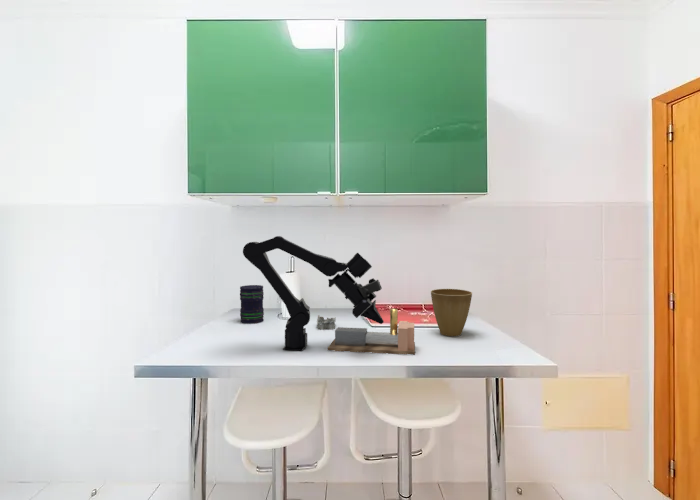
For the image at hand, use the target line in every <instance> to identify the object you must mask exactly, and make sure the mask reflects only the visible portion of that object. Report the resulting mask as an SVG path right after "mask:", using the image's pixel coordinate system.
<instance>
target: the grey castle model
mask: <svg viewBox="0 0 700 500" xmlns="http://www.w3.org/2000/svg"><path fill="white" fill-rule="evenodd" d="M324 318H325V317H324V316H320V314H318V315H317V318H316V323H317V325H316V326H317V330H322V331H324V330H332V331H333V330H336V329H335V328H336V324H335V323H336V320H337V319H336V317H335V316H334V317H330V318H329V317H326V319H324Z"/></svg>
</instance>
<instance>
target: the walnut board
mask: <svg viewBox="0 0 700 500" xmlns="http://www.w3.org/2000/svg"><path fill="white" fill-rule="evenodd" d="M415 348H416V342H415V341H414V350H408V351H398V344H376V343H367V344H366V346H365V347H364V346H342V345H335V338H334V339H333V340H332V341H331V343H330V344H329V345H328V346H327V351H328V350H335V351H334V352H344V351H350V352H349V353H365V352H372V353H371V354H386V353H388V354H390V355H392V354H393V355H407V354H413V355H412V356H415V354H416V352H415V351H416V349H415Z"/></svg>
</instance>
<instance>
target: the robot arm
mask: <svg viewBox="0 0 700 500" xmlns="http://www.w3.org/2000/svg"><path fill="white" fill-rule="evenodd" d="M276 249H277V250H278V249H279V250H280V251H283V252H285V253H287V254H289V255H291V256H293V257H295V258H297V259H298V260H299V259H300V260H301V261H303V262H306V263H307V264H309V265H311V266H312V267H313V268H315V269H316V270H318V271H319V272H321V274H323V275H325V276H326V277H332V278H328V279H327V280H328V288H332V287H333V286H335V287H337V288H338V290H339V291H340V292H341V293H342V294H343V295H344V298H345V299H346V300H349V302H350V303H351V304H352V305H353V309H352V312H351V313H352V315H353V316H354V317H355V319H358V318H359V316H361V317H363V318H366V319H369V320H371V321H373V322H376V323H378V324H380V325H382V324H383V323H384V322H385V321H384V319H383V317H382V315H381V314H380V312H379V311H378V309H377V307H376V305H377V304H376V303H377V300H376V298H377V294H375V293H376V292H379V291H381V290H382V285H381V282H380V280H379V279H375V278H370V279H369V280H368V283H367V284H365V285H363V284H361V283H358V282H357V281H356V280H355V279H357V278H359V279H361V278H362V277H363V276H364V275H365V274H366V273H367V272H368V271H369V270H370V269H372V267H373V266H372V265H371V263H370V262H368V260H367V259H366V258H364V257H363V256H362V255H361V254H360V253H359V252H356V253H355V254H354V255H353V256H352V258H350V260H348V261H347V262H339V261H337V260H336V259H335V258H332V257H329V256H326V255H323V254H318V253H315V252H312V251H310V250H308V249H306V248H304V247H303V246H301V245H298V244H296V243H294V242H292V241H290V240H288V239H286V238H284V237H283V236H282V235H277V236H274V237H272V238H270V239H267V240H263V241H259V242H258V241H251V242H248V243H246V244H245V245H244V247H243V248H242V254H243V256H244V257H245V259H246V260H247V261H248V262H249V263H250V264H251V265H253V267H255V268H256V269H258V270H259V272H260V273H262V275H263V277H264V279H266V280H267V282H268V284H269V285H270V286H271V288H272V289H273V290H274V292H275V293H276V294H277V295H278V297H279V298H280V300H281V301H282V302H283V304H284V306H285V307H286V310H287V312H288V315H289V317H290V318H288V319H287V321H286V324H285V329H284V347H283V348H282V350H284V351H288V350H289V351H304V349H306V347H307V346H308V332H307V329H306V327H305V326H307V325H308V324H309V323H310V320H311V311H310V309H311V308H310V306H309V305H308V304H306V301H305V299H304V298H303V297H302V298H301V299H298V297H296V296H295V295H294V294H293V293H292V291H291V290H290V288H289V287H288V285H287V284H286V283H285V282H284V280H283V278H282V277H281V276H280V274H279V273H278V272H277V270H276V269H275V268H274V266H273V265H272V264H271V262H270V259H269V256H268V254H267V253H268V252H271V251H273V250H276ZM341 272H342V273H341ZM348 272H349V273H350V274H351V275H350V274H349V273H348ZM339 273H341V274H339ZM352 276H353V277H354V278H353V277H352Z"/></svg>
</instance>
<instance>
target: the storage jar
mask: <svg viewBox="0 0 700 500" xmlns="http://www.w3.org/2000/svg"><path fill="white" fill-rule="evenodd" d="M239 289H240V290H239V300H240V310H239V312H240V313H239V317H240V323H241V324H245V325H255V324H260V323H264V318H265V317H264V316H265V312H264V310H265V309H264V285H261V284H259V285H258V284H251V285H250V284H249V285H248V284H247V285H242V286H241V285H240V286H239Z"/></svg>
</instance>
